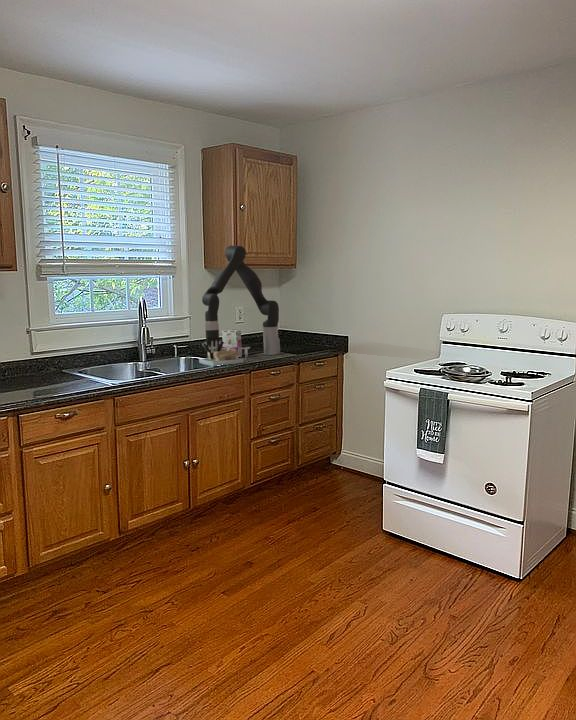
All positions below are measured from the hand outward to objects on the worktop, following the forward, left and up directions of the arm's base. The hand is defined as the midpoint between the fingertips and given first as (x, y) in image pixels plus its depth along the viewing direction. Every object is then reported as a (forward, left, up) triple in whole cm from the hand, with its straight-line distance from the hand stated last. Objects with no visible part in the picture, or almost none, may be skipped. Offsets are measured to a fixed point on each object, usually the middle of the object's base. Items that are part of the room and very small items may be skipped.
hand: (213, 358), depth 347 cm
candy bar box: (-20, -15, -3) cm, 25 cm away
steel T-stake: (-23, -3, -3) cm, 23 cm away
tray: (-5, 0, -3) cm, 6 cm away
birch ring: (-6, 0, -1) cm, 6 cm away
